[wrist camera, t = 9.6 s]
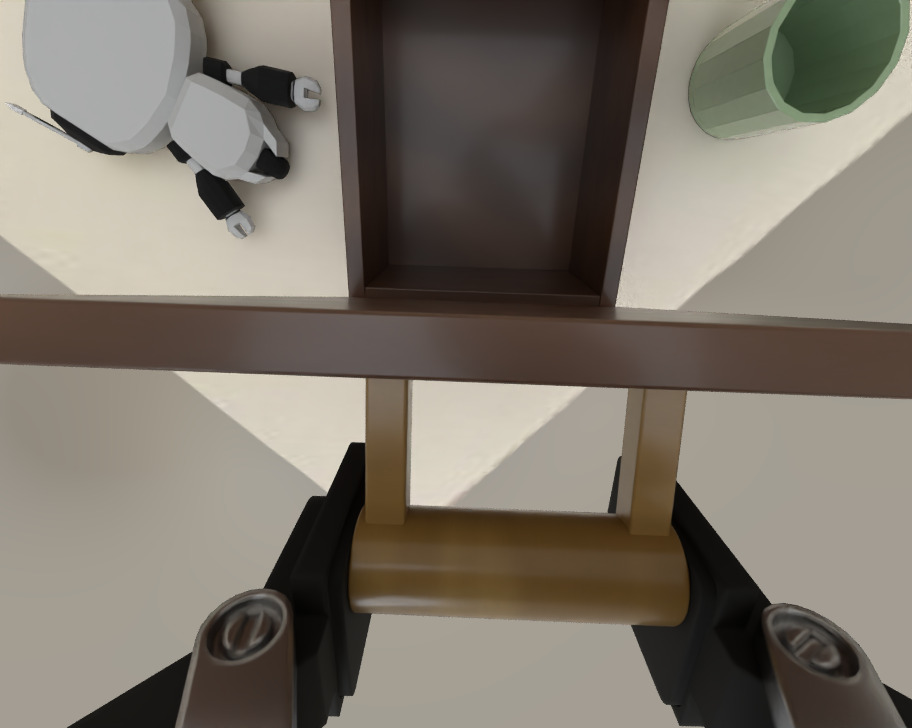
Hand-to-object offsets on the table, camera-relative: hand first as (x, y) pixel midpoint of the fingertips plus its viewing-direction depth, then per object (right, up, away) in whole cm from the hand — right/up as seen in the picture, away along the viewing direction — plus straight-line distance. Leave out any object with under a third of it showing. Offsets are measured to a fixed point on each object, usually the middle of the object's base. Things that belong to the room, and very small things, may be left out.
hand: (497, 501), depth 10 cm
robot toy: (-18, +21, +18) cm, 33 cm away
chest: (+1, +18, +18) cm, 26 cm away
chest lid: (0, +5, +4) cm, 6 cm away
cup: (+17, +21, +17) cm, 32 cm away
